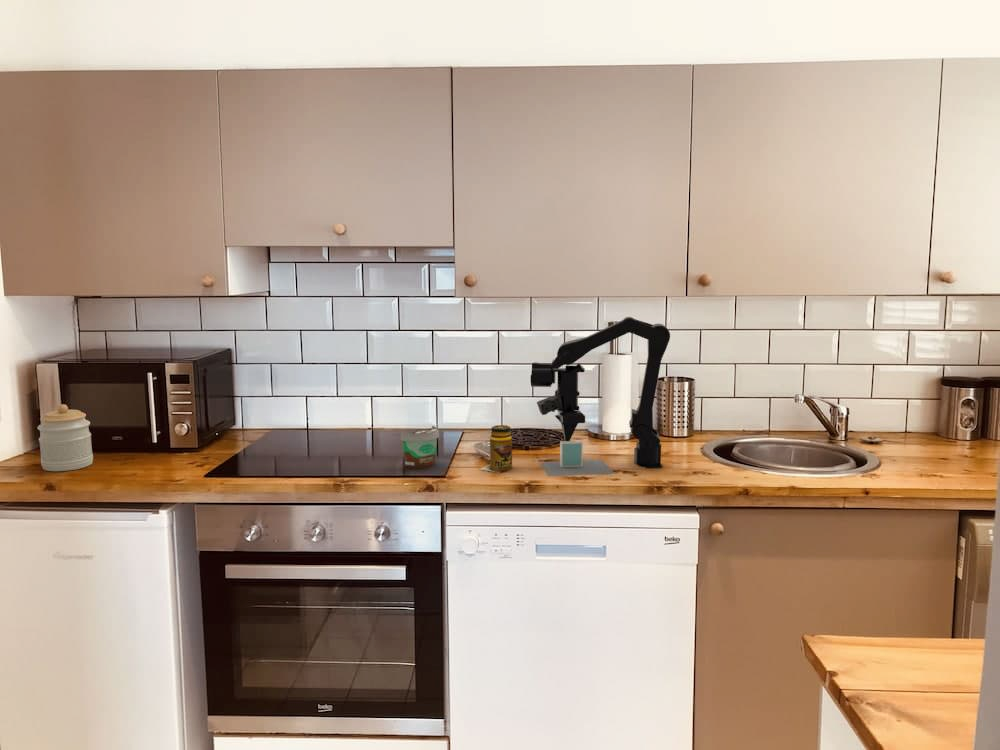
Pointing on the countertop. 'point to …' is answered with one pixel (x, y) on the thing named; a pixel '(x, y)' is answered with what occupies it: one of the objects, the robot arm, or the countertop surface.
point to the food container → (420, 448)
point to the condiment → (500, 449)
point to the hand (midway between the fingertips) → (567, 441)
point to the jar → (65, 440)
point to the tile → (571, 453)
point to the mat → (576, 468)
